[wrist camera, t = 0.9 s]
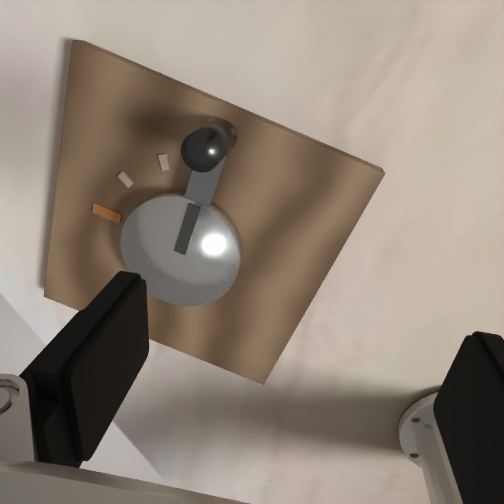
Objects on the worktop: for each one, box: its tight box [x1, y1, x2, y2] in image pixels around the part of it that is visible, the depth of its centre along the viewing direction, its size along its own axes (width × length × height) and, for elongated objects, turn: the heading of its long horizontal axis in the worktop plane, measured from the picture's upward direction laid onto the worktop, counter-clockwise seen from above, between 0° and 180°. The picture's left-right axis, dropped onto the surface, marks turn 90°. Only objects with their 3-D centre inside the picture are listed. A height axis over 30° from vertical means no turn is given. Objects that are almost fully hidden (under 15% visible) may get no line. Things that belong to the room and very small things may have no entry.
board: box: [44, 40, 385, 385], centre depth 33 cm, size 24×24×2 cm
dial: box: [121, 117, 243, 306], centre depth 28 cm, size 16×10×6 cm, turn 159°
